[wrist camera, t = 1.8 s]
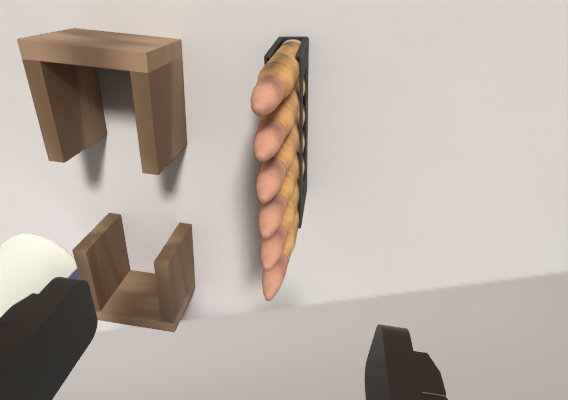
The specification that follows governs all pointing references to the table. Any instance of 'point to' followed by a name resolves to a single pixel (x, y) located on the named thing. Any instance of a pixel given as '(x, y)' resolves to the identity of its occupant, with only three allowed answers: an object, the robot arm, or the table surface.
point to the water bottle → (31, 267)
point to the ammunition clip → (281, 154)
